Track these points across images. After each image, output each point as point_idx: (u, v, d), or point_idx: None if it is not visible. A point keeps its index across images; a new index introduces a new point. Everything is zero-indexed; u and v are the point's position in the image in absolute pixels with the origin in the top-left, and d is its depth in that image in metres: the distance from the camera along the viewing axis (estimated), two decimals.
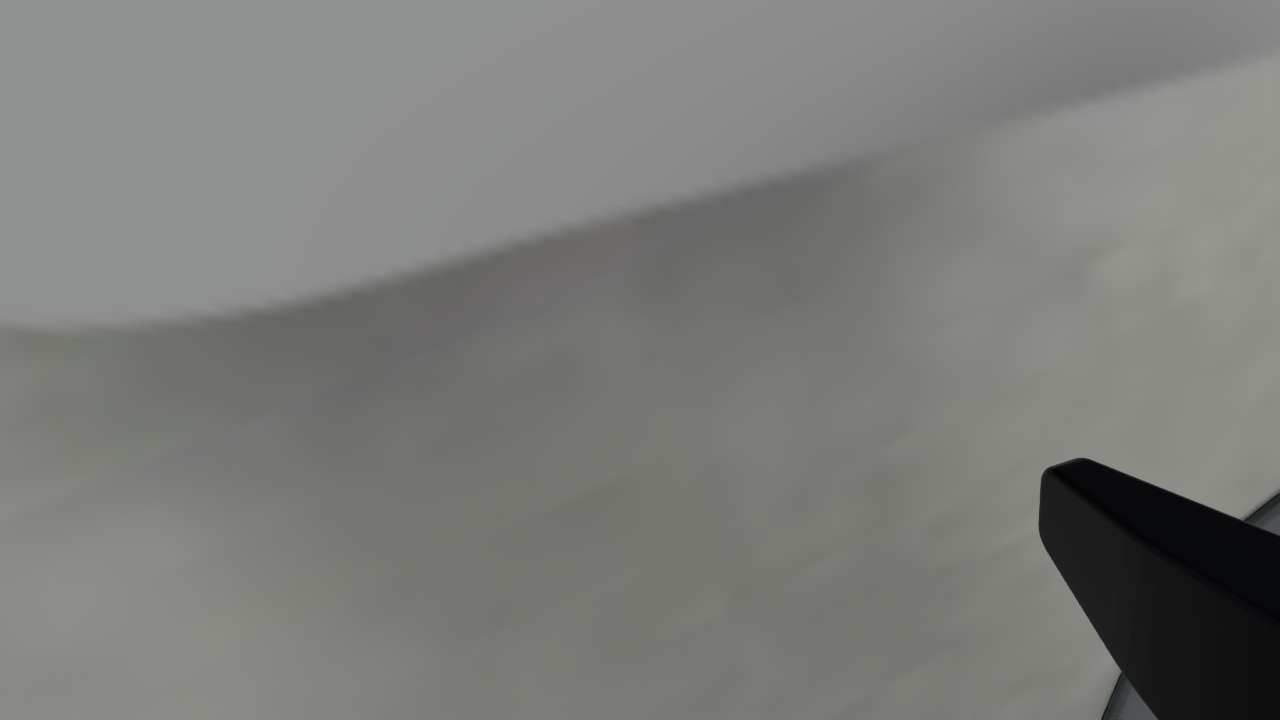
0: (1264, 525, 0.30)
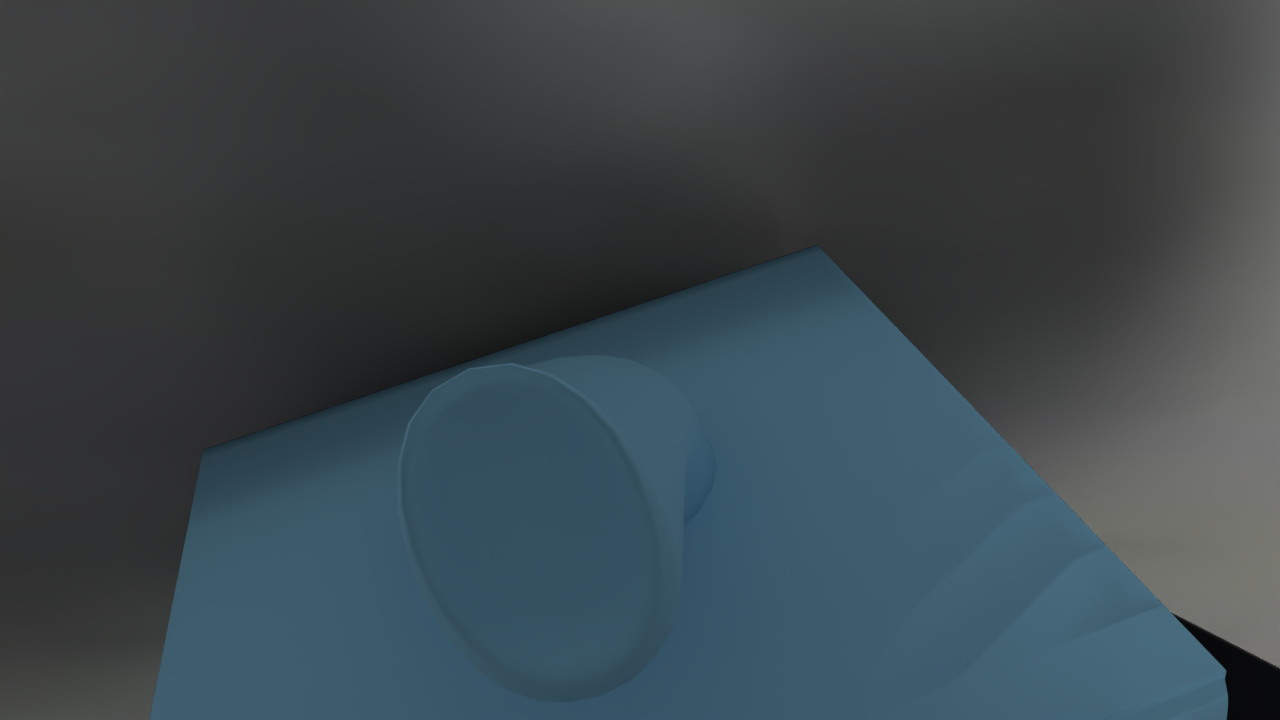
0: None
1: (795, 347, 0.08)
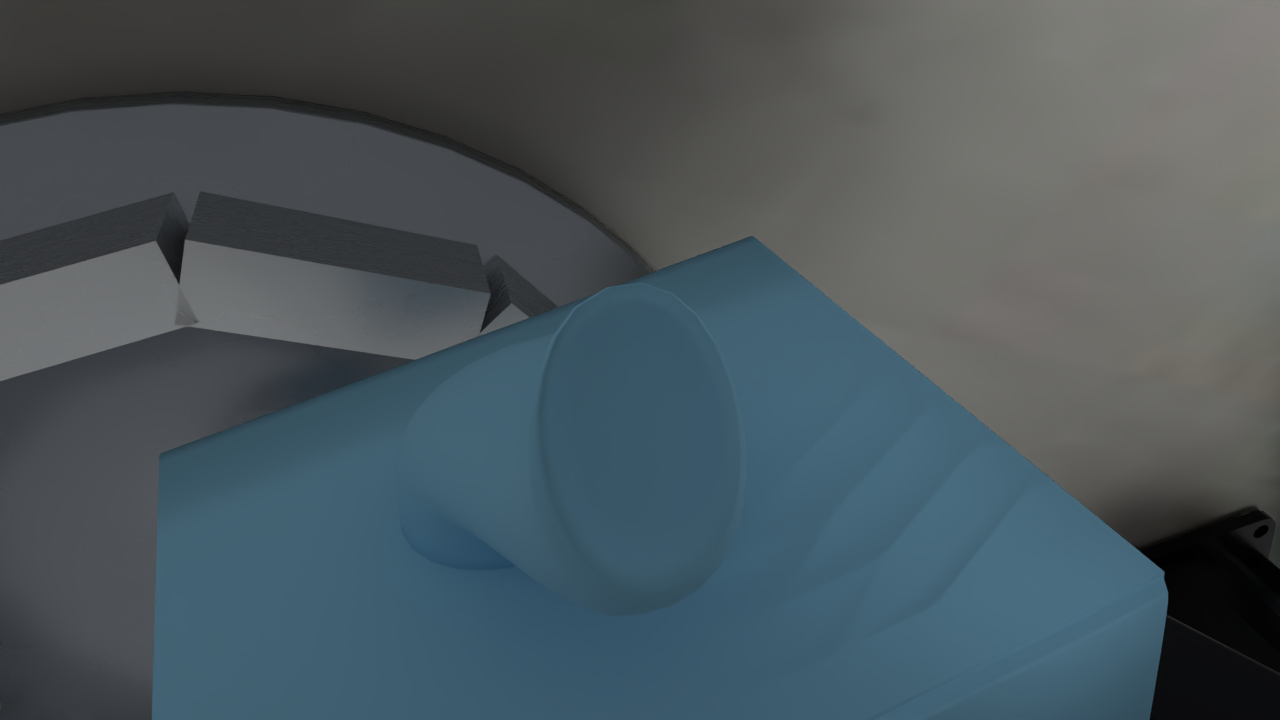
0: None
1: (746, 327, 0.09)
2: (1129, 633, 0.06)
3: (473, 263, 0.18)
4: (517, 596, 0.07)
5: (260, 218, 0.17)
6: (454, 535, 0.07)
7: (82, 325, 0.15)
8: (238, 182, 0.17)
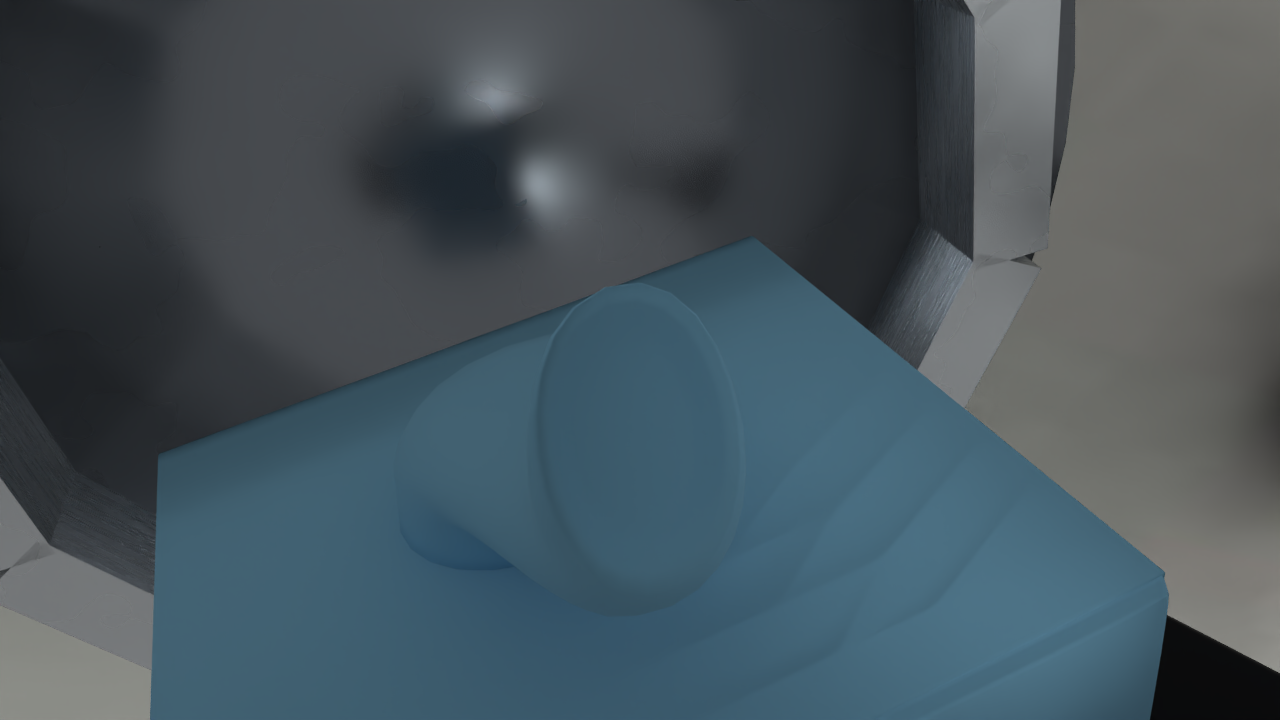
0: None
1: (746, 327, 0.09)
2: (1129, 634, 0.06)
3: None
4: (517, 597, 0.07)
5: None
6: (453, 535, 0.07)
7: None
8: None
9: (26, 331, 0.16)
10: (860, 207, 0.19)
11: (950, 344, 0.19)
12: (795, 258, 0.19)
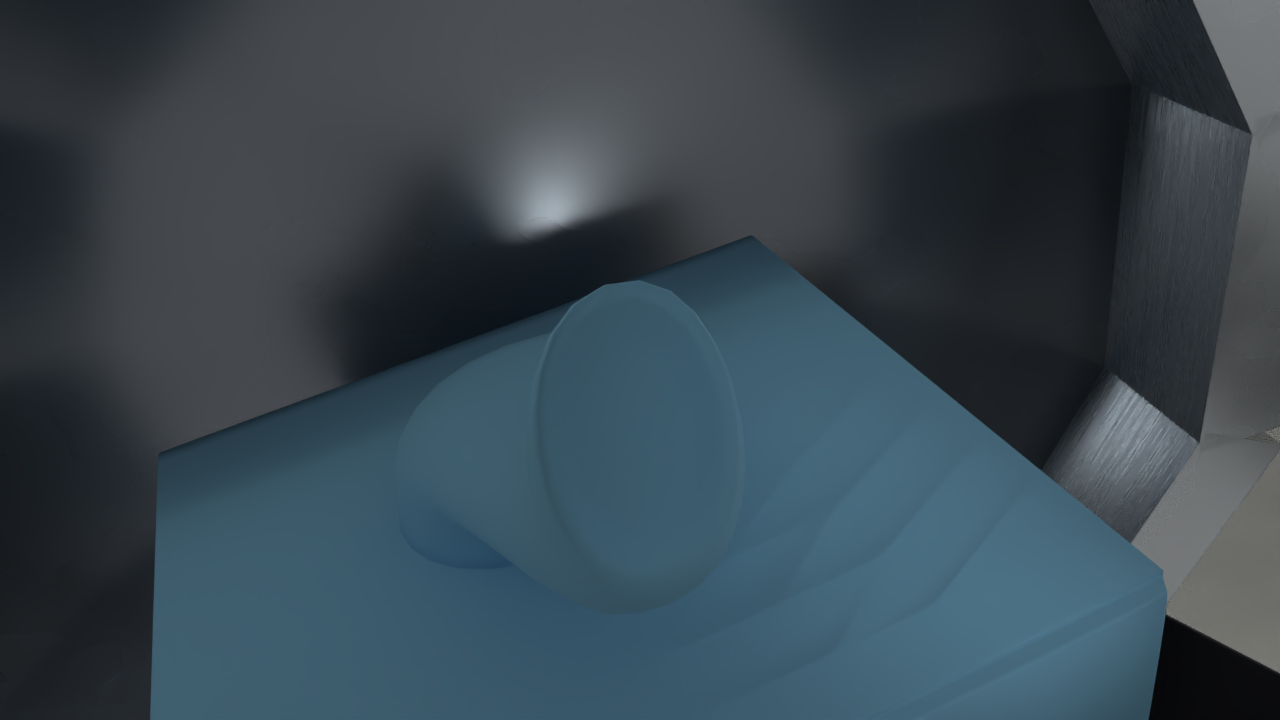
0: None
1: (745, 326, 0.09)
2: (1128, 632, 0.06)
3: None
4: (515, 595, 0.07)
5: None
6: (453, 534, 0.07)
7: None
8: None
9: None
10: (1031, 356, 0.14)
11: (1154, 541, 0.14)
12: None
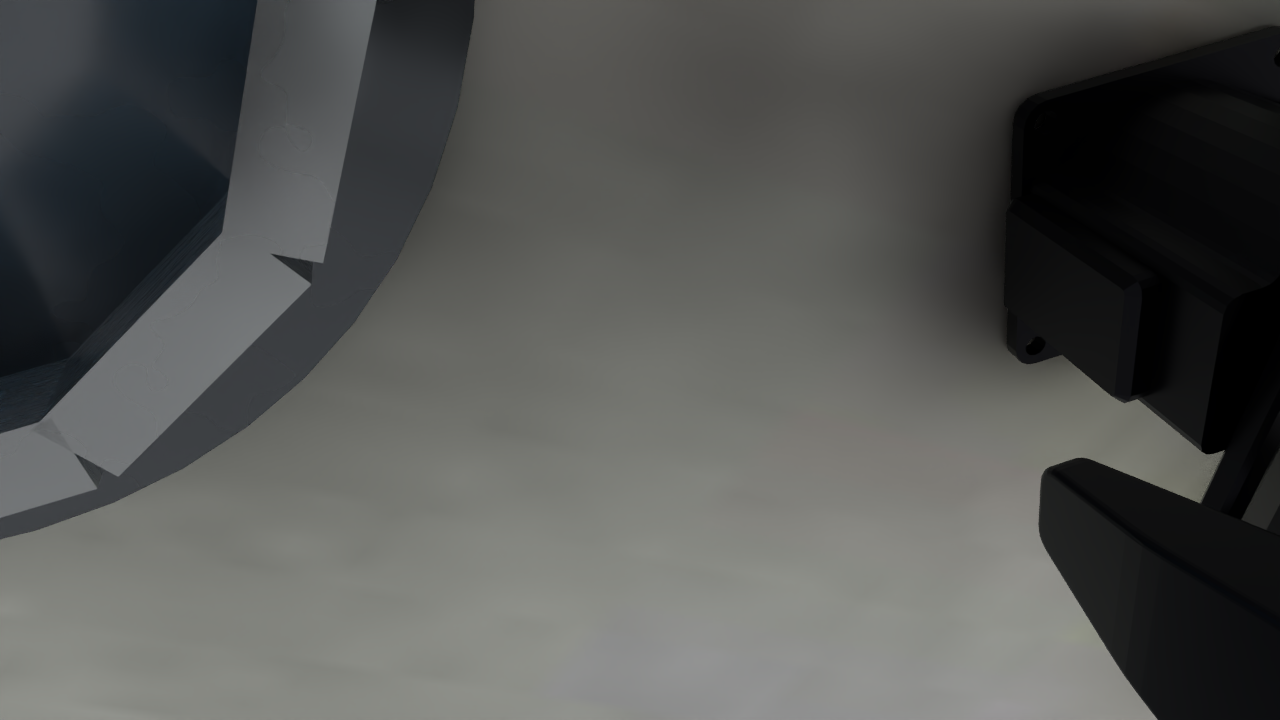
0: None
1: None
2: None
3: None
4: None
5: None
6: None
7: None
8: None
9: None
10: None
11: (282, 62, 0.14)
12: None
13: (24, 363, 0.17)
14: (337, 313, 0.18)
